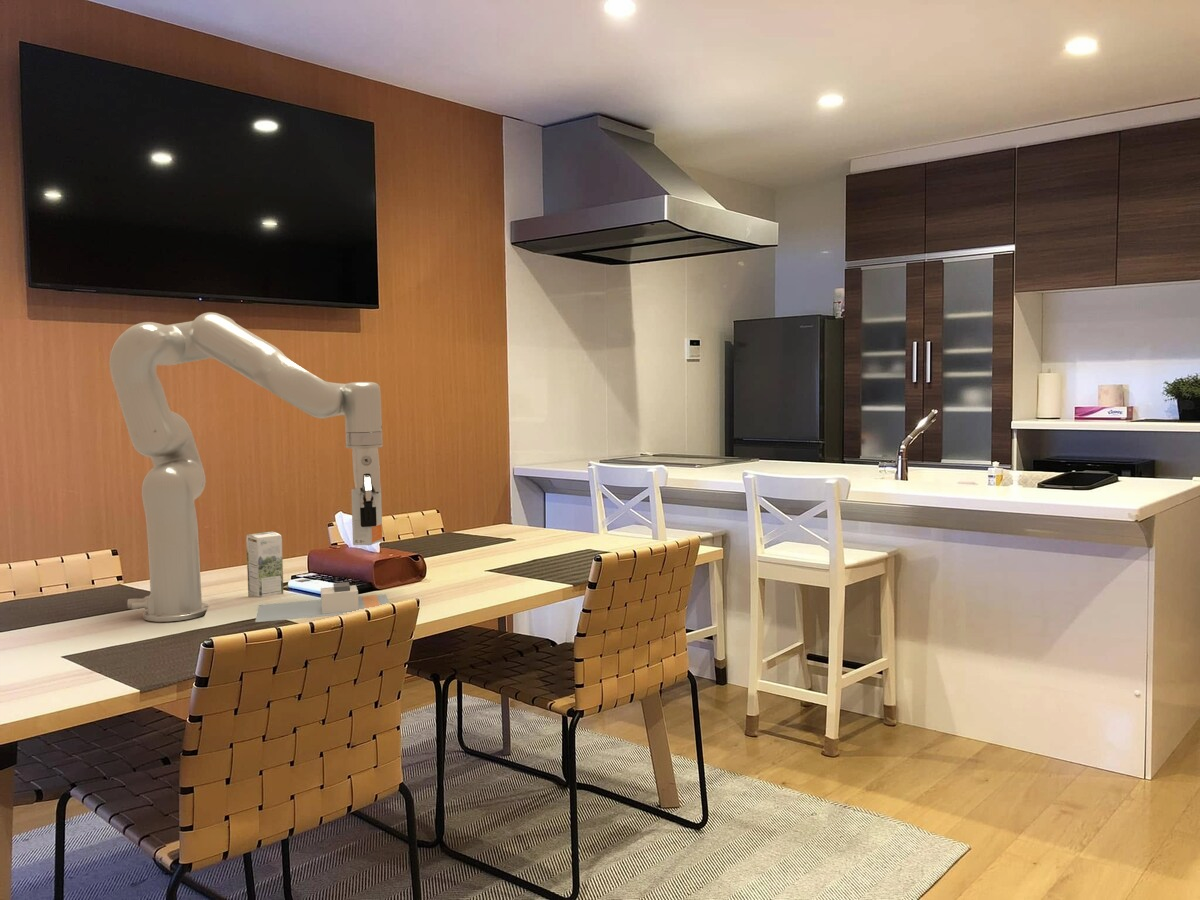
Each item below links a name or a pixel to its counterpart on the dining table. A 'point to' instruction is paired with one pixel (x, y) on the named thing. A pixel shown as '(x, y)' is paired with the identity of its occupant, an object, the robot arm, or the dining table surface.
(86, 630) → the dining table surface
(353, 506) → the skincare box
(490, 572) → the dining table surface
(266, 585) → the syrup box
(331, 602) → the beige box
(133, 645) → the dining table surface
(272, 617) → the board
